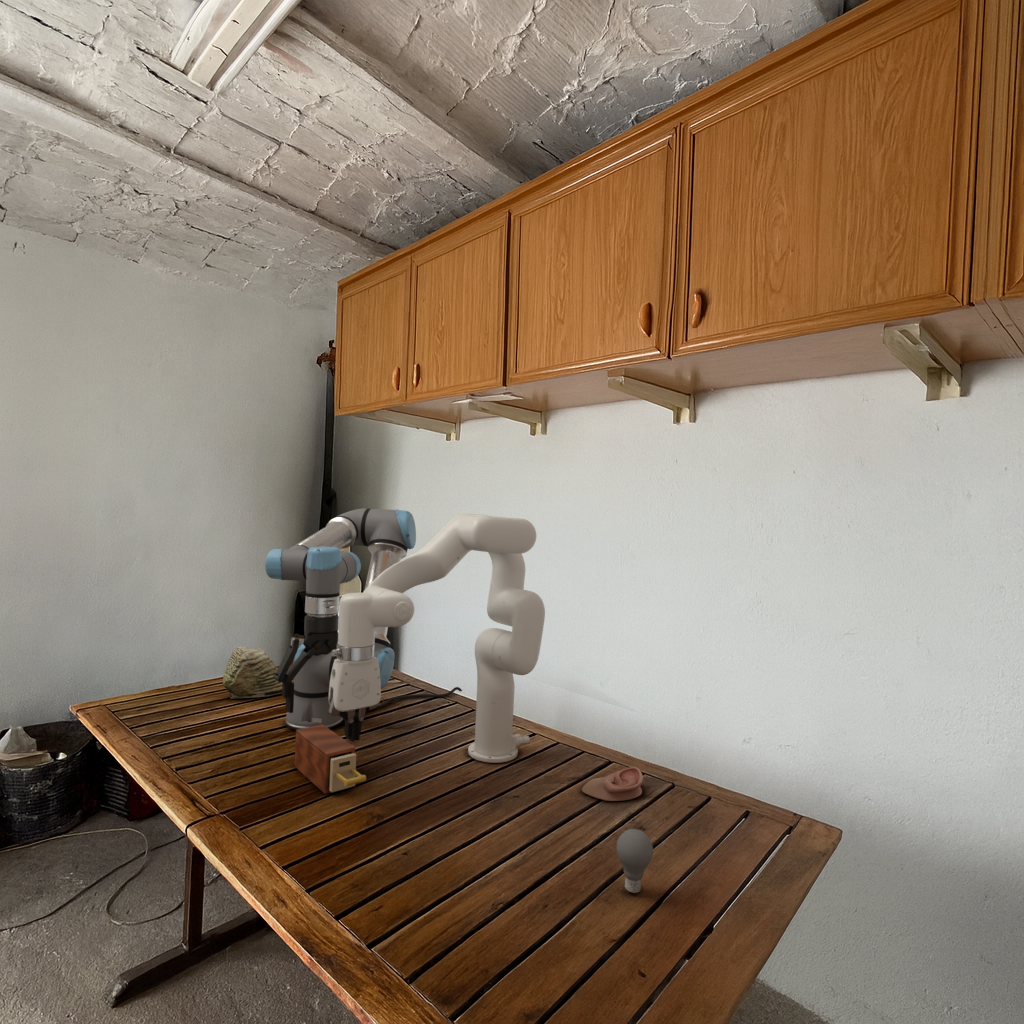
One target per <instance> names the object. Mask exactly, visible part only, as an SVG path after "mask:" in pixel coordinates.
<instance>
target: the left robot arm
mask: <svg viewBox="0 0 1024 1024" xmlns="http://www.w3.org/2000/svg"><path fill="white" fill-rule="evenodd" d="M416 543H417V527H416V522H415V519H414V515H413V514H412V513H411V512H410V511H409V510H403V509H397V508H396V509H387V508H386V509H383V508H370V507H369V508H367V507H365V508H357V509H356V508H355V509H353V510H350V511H346V512H344V513H341V514H338V515H337V516H335V517H333V518H331V519H330V520H329V521H328V522H327V523H326V525H325V527H322V528H321V529H320V530H318V531H316V532H315V533H313V534H311V535H310V536H307V538H305V539H303V540H301V541H300V542H297V543H296V544H295V545H292V546H291V547H290V548H286V549H285V548H274V549H271V550H270V551H268V553H267V554H266V557H265V563H264V569H265V573H266V575H267V577H268V578H270V579H274V580H281V581H297V582H305V601H304V602H305V603H304V613H305V614H306V615H305V616H304V627H303V631H304V634H303V637H295V636H291V637H290V638H289V643H288V648H287V649H286V652H285V654H284V656H283V658H282V659H281V661H280V663H279V665H278V667H277V668H278V669H277V671H276V673H275V675H274V679H275V680H277V681H278V682H282V693H281V696H282V697H283V698H285V711H286V712H287V713H286V715H285V726H286V728H287V729H289V730H291V731H294V732H296V730H298V729H303V728H308V727H313V726H318V725H322V724H323V725H324V726H326V727H327V728H329V729H330V730H332V729H335V728H337V727H339V726H340V725H342V723H343V722H344V719H343V718H342V717H341V716H332V715H330V714H329V713H328V712H329V708H330V705H329V685H330V677H331V672H332V667H333V663H334V660H335V659H337V657H336V656H332V654H331V652H332V650H335V649H337V645H338V626H339V603H340V596H341V595H340V594H341V593H340V592H341V585H342V584H345V583H350V582H351V581H352V580H355V579H356V578H357V577H358V576H359V574H360V572H361V570H362V569H361V568H362V563H361V559H360V558H359V556H358V555H356V554H355V553H354V552H352V551H343V550H342V551H341V549H348V548H350V547H352V546H353V547H354V546H355V547H357V546H359V547H368V548H367V550H368V551H369V553H370V554H371V557H370V561H369V562H370V563H369V565H368V566H369V567H368V571H367V575H366V581H365V586H364V590H365V589H366V588H367V587H368V586H369V584H370V583H372V582H373V581H374V580H375V579H376V578H377V577H378V576H379V575H380V574H381V573H382V572H383V571H385V570H386V569H387V568H389V567H390V566H392V565H394V564H396V563H397V562H399V561H401V560H403V559H405V558H406V557H407V555H408V551H409V550H413V549H414V548H415V547H416ZM388 629H389V627H375V642H374V657H377V658H378V663H379V669H380V681H381V690H382V689H384V688H385V687H386V685H387V684H388V683H389V681H390V678H391V677H392V674H393V671H394V666H395V657H396V655H395V651H394V649H392V648H391V641H390V640H389V639H388V638H387V635H388ZM456 691H458V692H463V689H462V688H460V687H459V686H455V687H453V688H452V689H450V690H449V691H448V692H446V693H438V694H436V693H434V694H433V693H431V694H430V693H417V694H416V693H415V694H405V695H398V696H395V697H391V698H389V699H387V700H385V701H384V702H382V703H380V704H378V706H377V707H376V708H373V709H371V710H369V711H368V712H370V711H374V710H377V709H380V708H382V707H385V706H386V705H388V704H390V703H391V702H394V701H397V700H403V699H413V698H445V697H449V696H451V695H452V694H453V693H455V692H456ZM353 712H354V710H353Z"/></svg>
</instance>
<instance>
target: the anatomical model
mask: <svg viewBox="0 0 1024 1024" xmlns="http://www.w3.org/2000/svg"><path fill="white" fill-rule="evenodd" d="M643 782H644V775H643V773H642V771H641V770H640V769H639V768H638V767H637V766H630V767H625V768H623V769H620V770H617V771H615V772H613V773H610V774H608V775H605V776H604V777H596V778H595V777H594V778H592V779H590V780H588V781H587V782H586V783H585V784H584V785H583V786H582V788H581V792H582V793H583V794H585V795H587V796H590V797H593V798H595V799H598V800H602V801H606V802H619V801H621V802H622V801H628V800H633V799H635V798H638V797H640V796H641V795H642V793H643V789H642V787H641V786H642V784H643Z"/></svg>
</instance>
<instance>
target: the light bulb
mask: <svg viewBox="0 0 1024 1024" xmlns="http://www.w3.org/2000/svg"><path fill="white" fill-rule="evenodd" d="M615 849H616V854H617V857H618V859H619V861H620V863H621V865H622V867H623V873H624V874H623V875H624V876H625V878H624V888H625V890H627V891H628V892H630V893H634V894H635V893H639V892H640V891H641V889H642V887H641V886H642V879H643V877H644V875H645V871H646V868H647V867H648V866H649V864H650V863H651V861H652V859H653V855H654V847H653V843H652V841H651V838H649V836H648V835H647V834H646V833H645V832H643V831H642V830H641V829H636V828H629V829H627V830H625V831H623V832H622V833H621V834H620V835H619V837H618V839H617V841H616V847H615Z"/></svg>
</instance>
